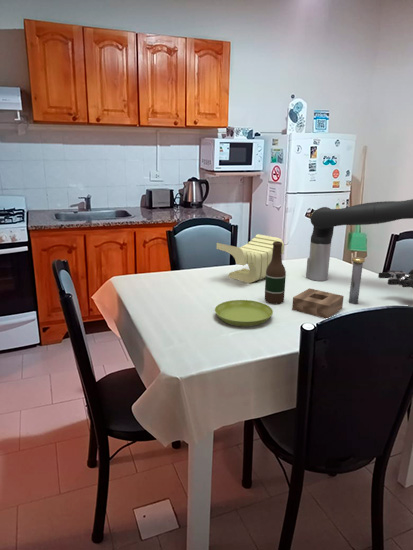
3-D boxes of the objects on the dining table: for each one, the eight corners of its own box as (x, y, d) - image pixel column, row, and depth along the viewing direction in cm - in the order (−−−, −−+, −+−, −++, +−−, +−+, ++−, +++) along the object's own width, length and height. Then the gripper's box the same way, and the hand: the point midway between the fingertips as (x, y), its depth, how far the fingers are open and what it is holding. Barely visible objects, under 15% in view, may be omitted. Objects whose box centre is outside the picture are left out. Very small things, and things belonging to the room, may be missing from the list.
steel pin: (345, 302, 165) (350, 258, 159) (349, 299, 168) (354, 256, 163) (357, 305, 162) (362, 260, 157) (361, 302, 165) (366, 258, 160)
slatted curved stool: (242, 288, 181) (244, 248, 175) (216, 280, 191) (216, 242, 186) (282, 274, 201) (284, 238, 196) (255, 268, 212) (257, 234, 207)
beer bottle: (285, 299, 168) (289, 241, 161) (282, 305, 161) (286, 245, 154) (266, 296, 170) (269, 239, 163) (262, 303, 163) (265, 243, 156)
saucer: (230, 304, 163) (231, 296, 162) (280, 314, 153) (281, 306, 152) (204, 321, 146) (204, 313, 145) (258, 334, 136) (258, 325, 135)
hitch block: (292, 309, 157) (293, 297, 155) (308, 300, 167) (309, 288, 166) (327, 319, 148) (328, 305, 147) (342, 308, 159) (343, 295, 157)
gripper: (416, 264, 169) (377, 264, 168) (435, 274, 155) (393, 274, 155) (413, 282, 171) (374, 282, 170) (432, 293, 157) (390, 293, 157)
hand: (383, 278), depth 162 cm, fingers open, 8 cm apart
